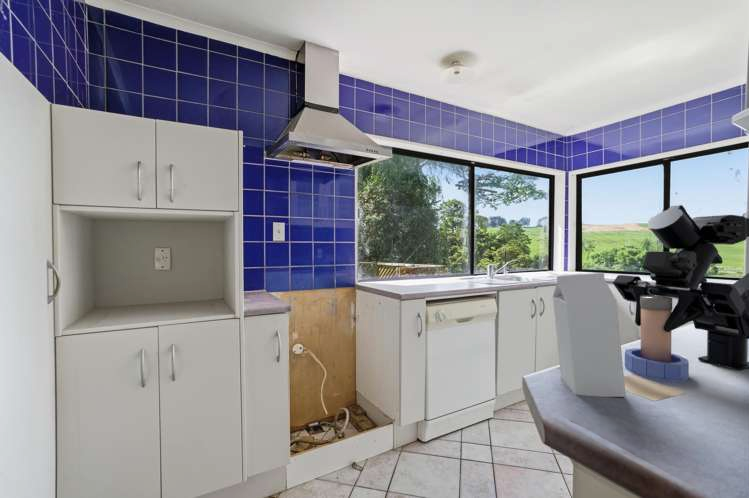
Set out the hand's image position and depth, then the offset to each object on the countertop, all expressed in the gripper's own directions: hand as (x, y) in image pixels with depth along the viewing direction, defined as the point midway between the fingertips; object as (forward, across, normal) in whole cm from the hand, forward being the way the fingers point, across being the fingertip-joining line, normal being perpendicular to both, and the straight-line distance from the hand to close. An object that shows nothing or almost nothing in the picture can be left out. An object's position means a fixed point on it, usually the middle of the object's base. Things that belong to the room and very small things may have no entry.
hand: (650, 327), depth 63 cm
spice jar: (+4, 0, +6) cm, 7 cm away
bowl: (+5, 0, +7) cm, 9 cm away
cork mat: (+12, +4, 0) cm, 13 cm away
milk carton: (+18, 0, -5) cm, 18 cm away
